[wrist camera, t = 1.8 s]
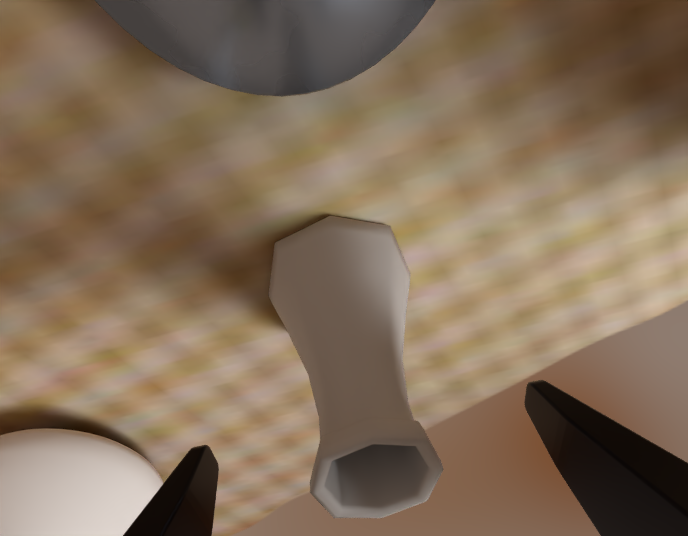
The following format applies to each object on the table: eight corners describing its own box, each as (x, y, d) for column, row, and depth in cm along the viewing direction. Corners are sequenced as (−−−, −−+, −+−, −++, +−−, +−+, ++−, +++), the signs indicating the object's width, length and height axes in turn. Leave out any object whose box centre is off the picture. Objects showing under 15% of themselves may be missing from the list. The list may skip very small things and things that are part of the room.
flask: (410, 327, 18) (509, 535, 9) (283, 348, 18) (259, 582, 9) (406, 202, 15) (551, 335, 6) (251, 225, 15) (167, 399, 6)
